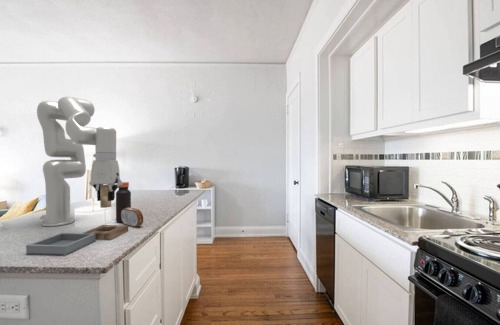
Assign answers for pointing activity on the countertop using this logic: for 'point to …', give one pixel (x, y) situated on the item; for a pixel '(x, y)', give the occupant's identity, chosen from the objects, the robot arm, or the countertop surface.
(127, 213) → the tin
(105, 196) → the dowel
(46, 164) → the robot arm
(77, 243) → the tray
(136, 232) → the countertop surface
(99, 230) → the holder
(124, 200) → the bottle
